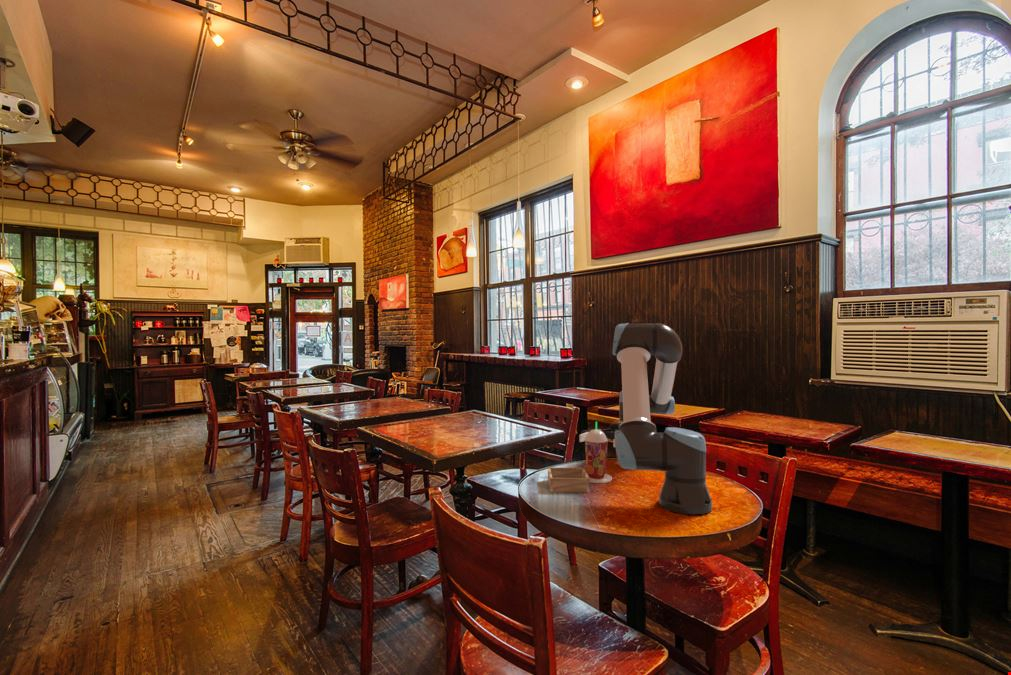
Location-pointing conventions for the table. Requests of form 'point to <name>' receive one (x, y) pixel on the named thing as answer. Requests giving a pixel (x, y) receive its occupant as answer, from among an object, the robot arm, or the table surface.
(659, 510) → the table surface
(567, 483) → the crate
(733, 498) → the table surface
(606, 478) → the pale round disc
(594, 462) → the smoothie
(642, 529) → the table surface
